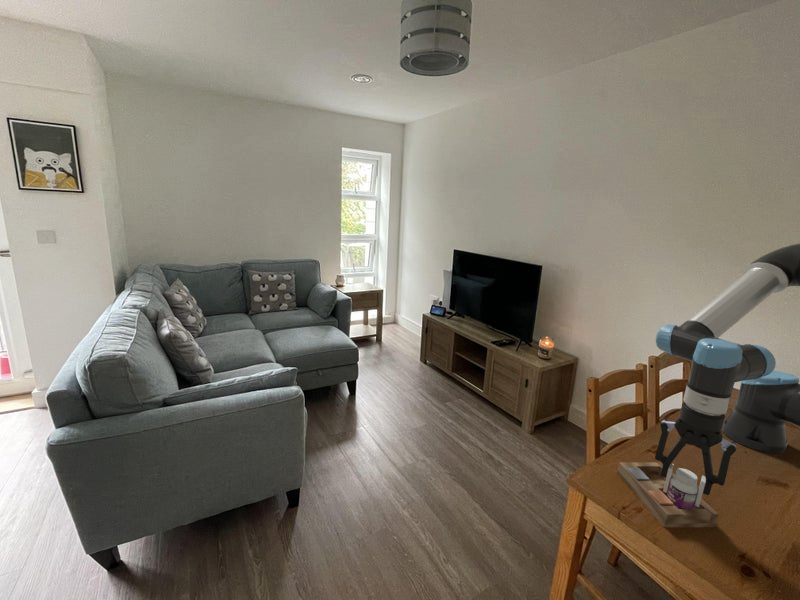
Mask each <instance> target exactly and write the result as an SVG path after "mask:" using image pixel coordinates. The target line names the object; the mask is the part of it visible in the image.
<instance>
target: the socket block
mask: <svg viewBox="0 0 800 600" xmlns="http://www.w3.org/2000/svg"><path fill="white" fill-rule="evenodd" d="M662 467H663V464H662V462H656V461H655V462H650V461H649V462H643V461H642V462H641V461H640V462H637V461H636V462H634V461H632V462H626V461H624V462H619V463H618V467H617V471H616V474H617V475H618V477H620V479H621V480H622V481H623V482H624V483H625V484H626V485H627V487H628V488H629V489H630V490H631V491H632V493H634V495H635V496H636V497H637V498H638V499H639V500H640V502H641V503H642V504H643V505H644V506H645V507H646V508H647V510H648V511H649V512H650V513H651V514H652V516H654V518H656V520H657V521H658V522H659V523H660V524H661V525H662V527H663V528H716V526H717V522H718V519H719V513H718V512H717V511H716V510H715V509H713V507H711V506H710V505H709V504H708V503H707V502H705V500H704V499H703V498H701V501H700V505H699V507H697V506H695V505H694V509H678V508H677V507H676V506H675V505H674V504H673V502H672V501H671V500H670V499H669V498H668V497H667V496H666V495H667V493H665V492H663V489H664V485H665V481H666V478H665V477H662V476H661V471H662ZM674 475H675V473H674V472H673V471H672V475H671V477H672V476H674Z"/></svg>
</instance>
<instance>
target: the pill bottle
mask: <svg viewBox="0 0 800 600" xmlns="http://www.w3.org/2000/svg"><path fill="white" fill-rule="evenodd" d="M674 474H675V475H674V476H672V477H671V478H670V482H669V486H668V490H667V495H666V496H667V497H668V498H669V499H670V500H671V501H672V502H673V504H674V505H675V506H676V507H677V508H678V509H694V505H695V502H696V498H697V494H698V490H699V486H698V484H697V483H698V476H697V474H695V473H694V472H692V471H691V470H689V469H686V468H680V467H678V468H677V469H676V470H675V473H674Z"/></svg>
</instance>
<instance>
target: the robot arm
mask: <svg viewBox="0 0 800 600" xmlns="http://www.w3.org/2000/svg"><path fill="white" fill-rule="evenodd" d="M789 287H800V243H794V244H790V245H787V246H785V247H781V248H778V249H775V250H773V251H770V252H768V253H766V254H764V255H761V256H760V257H759V258H757V259H755V260H754V261H752V262H751V263H750V264H749V265H747V266H746V267H745V268H744V271H743V275H742V276H740V277H739V278H738V279H737V280H736V281H734V282H733V283H732V284H730V285H729V286H728V287H727V288H726V289H725V290H723V291H722V292H721V293H719V294H718V295H717V296H715V297H714V298H713V299H712V300H711V301H709V302H708V303H707V304H706V305H704V306H703V307H702V308H701V309H700V310H698V311H697V312H696V313H695V314H693V315H692V316H690V318H688V319H687V320H686V321H684V323H681V325H679V326H678V325H677V324H665V325H663V326H661V328H659V330H658V331H657V332H656V336H655V344H656V347H657V348H658V349H659V350H660V351H662V352H664V353H667V354H669V355H671V356H673V357H678V358H679V359H680V358H681V359H683V360H684V361H685V360H686V361H689V362H691V366H690V370H689V374H688V375H689V376H688V380H687V384H686V386H685V392H684V395H683V402H682V404H681V407H680V411H679V416H678V418H677V419H676V420H675V421H669V420H667V419H662V420H661V423H660V430H661V433H660V438H659V440H658V441H659V442H658V444H657V449H656V451H655V452H656V453H655V456H654V459H655V460H656V461H659V463H662V464H663V467H662V471H661V476H662V477H665V478H666V481H665V485H664V489H663V492H665V493H667V490H668V486H669V482H670V478H671V475H672V472H673V469H674V466H675V464H674V463H673V461H674V460H675V459H676V458H677V456H678V455H679V453H680V452H682V449H683V448H685V447H686V445H689V446H695V447H696V448H697V449H700V450H701V454H702V459H703V460H702V461H703V467H704V468H703V469H704V475H701V478H700V483H699V486H698V494H697V498H696V502H695V506H697V507H699V505H700V501H701V499H703V498H702V497H703V495H706V496H710V493H711V490H712V486H713V485H714V484H715V485H719V486H724V485H725V482H726V479H727V474H728V473H727V472H728V470H729V465H730V461H731V457H732V456H733V454H734V453H736V451H737V444H736V443H738V444H740V445H742V446H745V447H747V448H750V449H753V450H756V451H758V452H759V451H760V452H763V453H768V454H770V453H771V454H783V453H784V452H786V451H787V447H788V441H787V436H786V435H787V433H786V427H785V426H786V422H788V423H790V424H792V425H795V426H798V427H800V379H799V377H798V376H796V375H794V374H791V373H789V372H783V371H779V370H775V369H776V366H777V364H776V363H777V362H776V358H775V356H774V355H773V353H772V352H771V351H770V349H768V348H767V347H764V346H762V345H759V344H751V343H750V344H748V343H747V344H741V343H740V344H739V343H735V342H732V341H729V340H726V339H722V338H719V337H721V336H722V335H724V333H726V332H727V331H729V330H730V329H731V328H732V327H734V325H736V324H737V323H738V322H739V321H740V320H742V319H743V318H744V317H745V316H746V315H748V314H749V313H750V312H751V311H753V310H754V309H755V308H756V307H758V306H759V305H760V304H761V303H762V302H763V301H765V300H766V299H767V298H769V297H770V296H772V294H775V293H780V292H782V291H784V290H785V289H787V288H789ZM739 382H740V387H739V390H738V395H737V398H736V402H735V406H734V409H733V410H732V411H731V413H729V415H728V416H727V417H726V414H727V412H728V408H729V405H730V400H731V396H732V393H733V390H734V386H735V383H739ZM673 429H675V431H676V432H677V433H678V435H679V437H678V440H677V441H676V443H674V445H673V447H672V448H671V449H670V451H669V452H668V454H667V455H664V451H665V448H666V443H667V441H668V437H669V435H670V432H672V431H673ZM722 433H723V434H724V435H725V436H726V437H728V438H729V439H731V440H732V441H729V440H727V439H725V438H724V437H723V434H722ZM718 444H721V450H722V455H721V459H720V464H719V469H718V471H717V475H715V474H714V469H713V462H712V461H713V460H712V453H711V447H714V446H716V445H718Z"/></svg>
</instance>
